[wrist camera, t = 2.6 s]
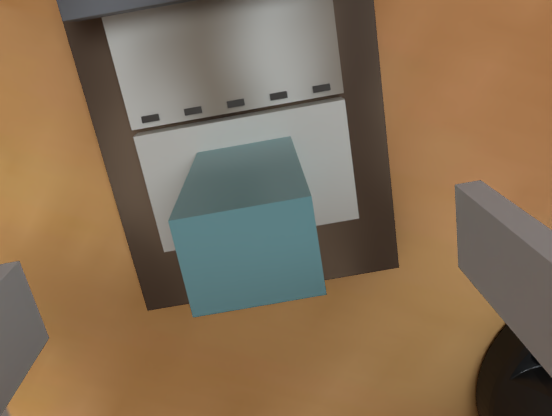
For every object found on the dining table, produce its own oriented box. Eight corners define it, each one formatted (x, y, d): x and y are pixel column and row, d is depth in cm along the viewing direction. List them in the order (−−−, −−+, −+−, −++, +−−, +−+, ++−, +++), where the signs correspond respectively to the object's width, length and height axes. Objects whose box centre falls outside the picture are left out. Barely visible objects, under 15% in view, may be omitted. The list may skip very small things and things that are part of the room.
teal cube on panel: (341, 96, 25) (396, 141, 15) (355, 211, 27) (411, 312, 17) (137, 132, 25) (68, 198, 15) (167, 244, 27) (122, 362, 17)
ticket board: (351, -150, 23) (374, -190, 18) (391, 255, 29) (415, 294, 25) (40, -93, 23) (-8, -119, 19) (152, 297, 30) (136, 342, 25)
